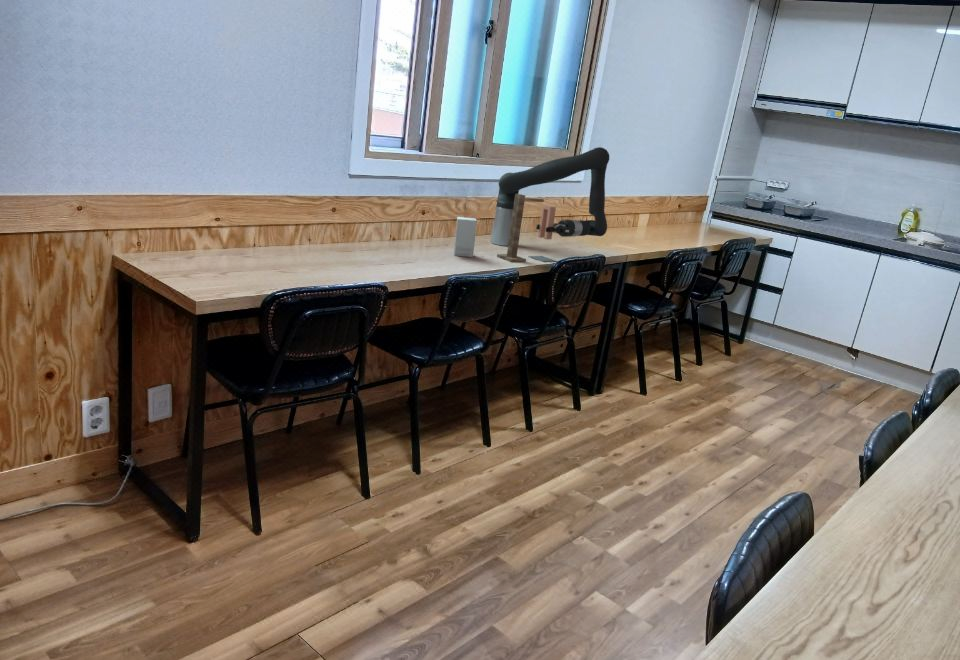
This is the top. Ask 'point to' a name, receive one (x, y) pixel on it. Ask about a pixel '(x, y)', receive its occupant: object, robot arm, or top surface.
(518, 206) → the stand
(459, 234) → the skincare box
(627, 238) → the top surface
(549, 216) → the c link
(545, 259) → the mat
